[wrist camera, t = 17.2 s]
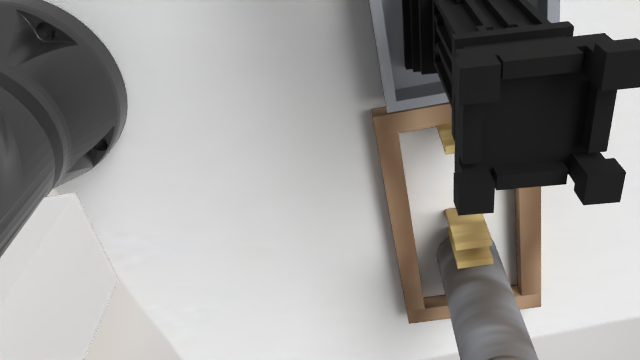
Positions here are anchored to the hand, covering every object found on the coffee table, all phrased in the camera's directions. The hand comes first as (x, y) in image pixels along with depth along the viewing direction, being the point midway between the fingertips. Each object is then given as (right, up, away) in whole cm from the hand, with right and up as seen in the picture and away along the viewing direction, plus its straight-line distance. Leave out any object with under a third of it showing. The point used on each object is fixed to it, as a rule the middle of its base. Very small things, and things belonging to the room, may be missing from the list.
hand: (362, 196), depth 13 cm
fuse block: (+12, -3, +38) cm, 40 cm away
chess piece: (+9, +13, +28) cm, 32 cm away
